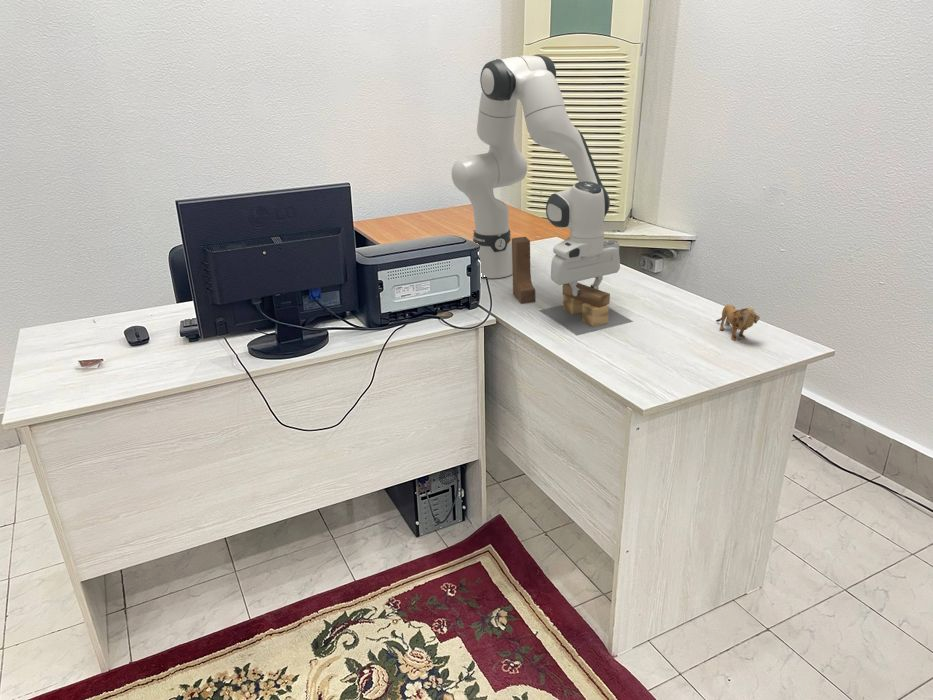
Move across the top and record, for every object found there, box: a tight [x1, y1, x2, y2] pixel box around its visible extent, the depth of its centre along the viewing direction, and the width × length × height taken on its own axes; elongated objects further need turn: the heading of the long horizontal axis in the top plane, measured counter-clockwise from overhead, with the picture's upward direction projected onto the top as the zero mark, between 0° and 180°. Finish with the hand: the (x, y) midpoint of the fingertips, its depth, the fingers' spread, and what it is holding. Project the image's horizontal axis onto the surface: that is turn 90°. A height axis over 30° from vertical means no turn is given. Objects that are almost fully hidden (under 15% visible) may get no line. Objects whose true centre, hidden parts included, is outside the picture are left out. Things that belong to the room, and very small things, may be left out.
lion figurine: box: [715, 304, 761, 341], centre depth 174 cm, size 15×5×9 cm, turn 15°
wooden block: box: [511, 236, 536, 305], centre depth 201 cm, size 9×4×18 cm, turn 13°
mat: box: [538, 304, 634, 336], centre depth 190 cm, size 20×18×1 cm
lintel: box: [562, 281, 611, 308], centre depth 187 cm, size 4×14×3 cm, turn 37°
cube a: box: [562, 294, 585, 315], centre depth 193 cm, size 5×5×5 cm
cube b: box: [582, 303, 610, 327], centre depth 185 cm, size 5×5×5 cm
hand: (585, 293), depth 187 cm, fingers closed on lintel, 4 cm apart
